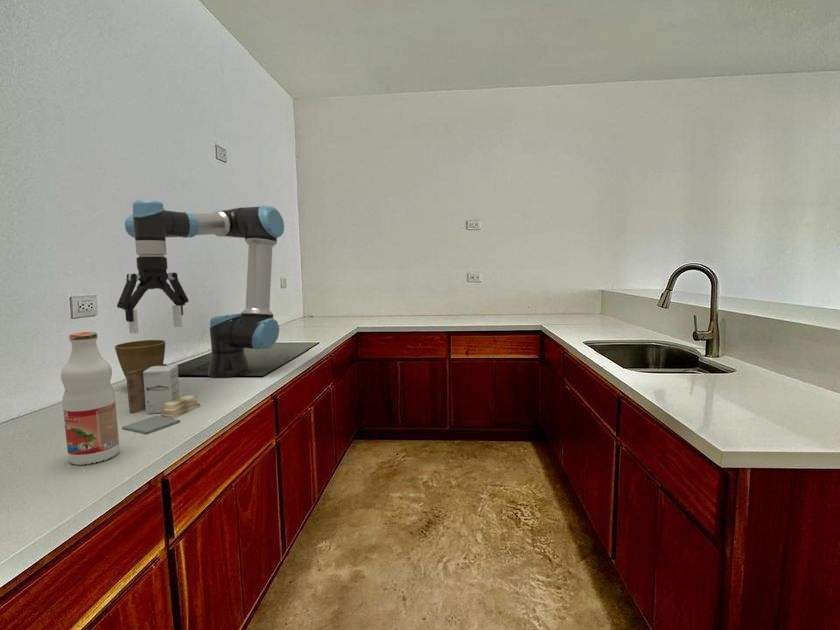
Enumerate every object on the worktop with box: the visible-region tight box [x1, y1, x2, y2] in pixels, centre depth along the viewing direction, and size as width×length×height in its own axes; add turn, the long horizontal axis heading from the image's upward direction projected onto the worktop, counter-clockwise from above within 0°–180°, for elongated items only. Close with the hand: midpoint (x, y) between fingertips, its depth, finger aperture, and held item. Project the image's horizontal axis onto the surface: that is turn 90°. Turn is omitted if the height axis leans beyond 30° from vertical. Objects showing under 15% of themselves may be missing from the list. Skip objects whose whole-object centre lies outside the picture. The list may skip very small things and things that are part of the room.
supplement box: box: [143, 365, 180, 415], centre depth 135 cm, size 7×7×13 cm
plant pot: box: [114, 339, 166, 380], centre depth 158 cm, size 15×15×16 cm
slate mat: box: [121, 415, 181, 435], centre depth 122 cm, size 10×10×1 cm
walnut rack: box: [125, 363, 168, 414], centre depth 138 cm, size 12×1×12 cm, turn 156°
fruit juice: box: [60, 331, 120, 466], centre depth 101 cm, size 9×9×28 cm
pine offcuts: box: [160, 394, 201, 419], centre depth 133 cm, size 11×4×4 cm, turn 167°
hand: (157, 330), depth 133 cm, fingers open, 13 cm apart
